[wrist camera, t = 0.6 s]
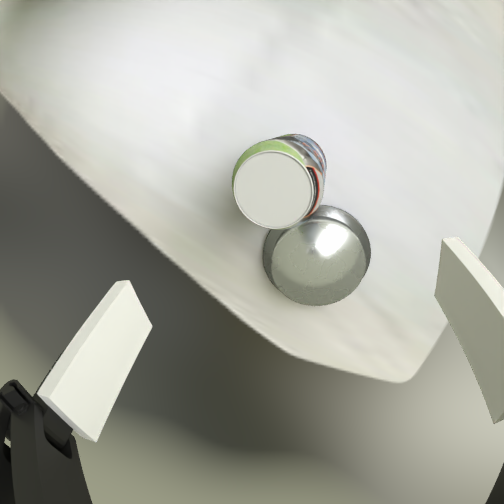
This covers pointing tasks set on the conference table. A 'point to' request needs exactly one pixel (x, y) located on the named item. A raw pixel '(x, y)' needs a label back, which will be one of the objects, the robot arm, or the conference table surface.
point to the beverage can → (280, 181)
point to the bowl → (318, 257)
